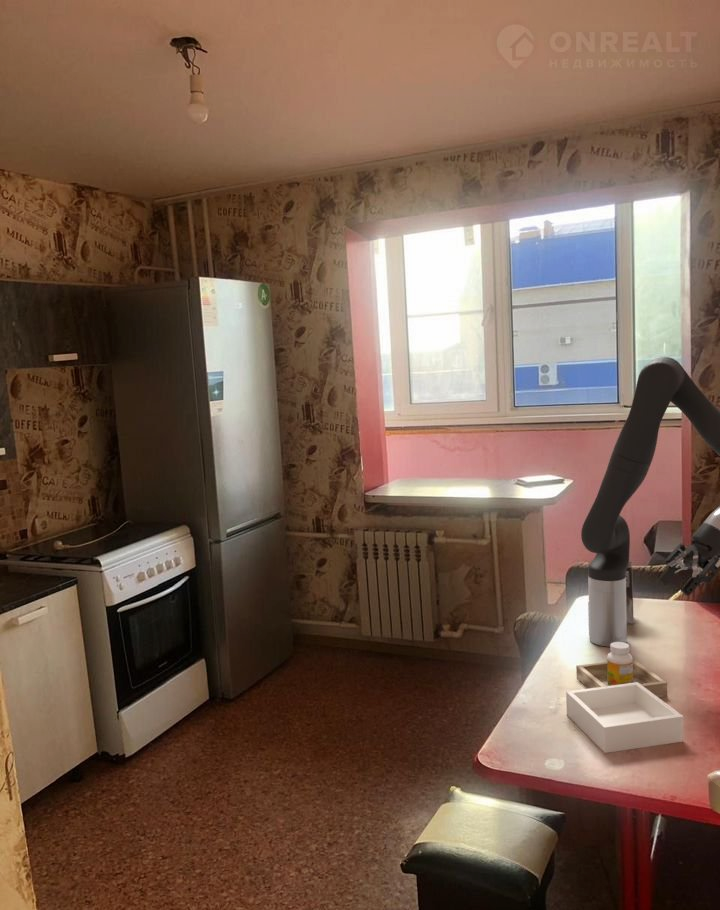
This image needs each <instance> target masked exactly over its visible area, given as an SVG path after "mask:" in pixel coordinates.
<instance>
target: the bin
mask: <svg viewBox="0 0 720 910" xmlns="http://www.w3.org/2000/svg"><path fill="white" fill-rule="evenodd" d="M641 684H642V683H640V682H639V681H638V682H633V683H627V684H620V685H612V686H608V685H605V686H604V687H597V688H584V689H576V690H568V691H566V692H565V694H566V695H565V701H566V704H565V705H566V716H567V717H568V718H569V719H570V720H571V721H573V723H575V725H577V727H578V728H580V730H582V732H583V733H584V734H585V735H586V736H588V738H589V739H590V740H591V741H592V742H593V743H595V745H596V746H597V747H598V748H599V749H600V750H601V751H602V752H603V753H604V754H607V753H615V752H619V751H628V750H633V749H641V748H648V747H649V748H650V747H656V746H662V745H668V744H676V743H682V742H684V715H682V714H681V713H680V712H678V711H677V710H675V709H674V708H673V707H672V706H670V705H669V704H668V703H666V702H665V701H664V700H662V699H661V698H660V697H657V696H655V695H654V694H653V693H651V692H650V691H649V690H647V689H646V688H645V687H643V686H642V685H641Z"/></svg>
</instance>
